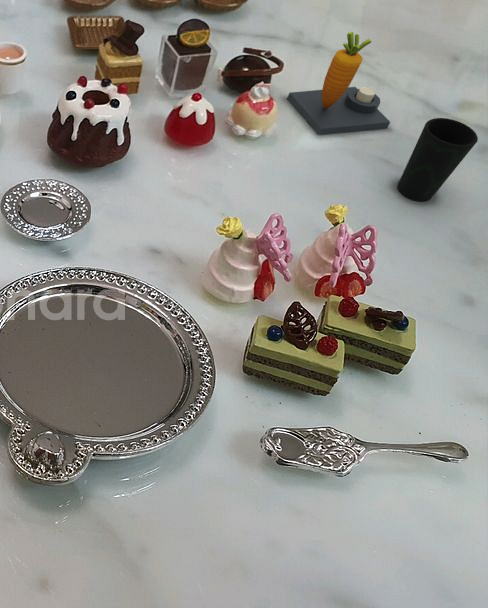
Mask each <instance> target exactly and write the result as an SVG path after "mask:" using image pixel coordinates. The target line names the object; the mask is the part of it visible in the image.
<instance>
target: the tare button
mask: <svg viewBox="0 0 488 608" xmlns="http://www.w3.org/2000/svg"><path fill="white" fill-rule="evenodd" d="M358 89H359V91H358V93H357V95H356V99H357V100H359V101H361V102H365V103H370V102H371V101H372V99H373V97H374V95H375V94H376V90H375V89H374V88H371V87H369V86H362V87H360V88H358Z"/></svg>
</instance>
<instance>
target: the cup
mask: <svg viewBox="0 0 488 608" xmlns="http://www.w3.org/2000/svg"><path fill="white" fill-rule="evenodd" d="M478 140H479V137H478V134H477V133H476V131H475V130H474V129H472V128H471V126H469V125H467V124H465V123H463V122H461V121H458V120H456V119H452V118H446V117H436V118H431V119H429V120H427V121H426V122H425V124H424V125H423V128H422V131H421V133H420V135H419V137H418V140H417V141H416V144H415V146H414V148H413V150H412V153H411V155H410V157H409V158H408V161H407V163H406V166H405V168H404V170H403V172H402V174H401V177H400V178H399V181H398V182H397V185H396V187H397V191H398V192H399V193H400V194H401V195H402V196H403V197H405V198H406V199H408V200H411V201H414V202H419V203H425V202H429V201H431V200H432V199H433V197H434V196H435V195H436V193H437V192H438V191H439V190H440V189H441V187H443V185H444V183H445V182H446V181H447V180H448V179H449V178H450V177H451V175H452V174H453V173H454V171H455V170H456V169H457V168H458V167H459V165H460V164H461V163H462V161H463V160H464V159H465V157H466V156H467V155H468V154H469V153H470V152H471V150H472V149H473V148H474V147H475V146H476V144H477V142H478Z"/></svg>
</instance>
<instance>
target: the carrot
mask: <svg viewBox="0 0 488 608" xmlns="http://www.w3.org/2000/svg"><path fill="white" fill-rule="evenodd" d="M346 39H347V42H344V43H342V45H343V47H344V49H339V50H336V52H335V54H334V55H333V57H332V59H331V62H330V64H329V67H328V69H327V71H326V74H325V77H324V80H323V85H322V89H321V90H322V105H323V107H324V109H327V108H329V107H331V106H332V105H333V104H335V103H336V102H337V101H338V100H339V99H340V98H341V96H342V95H343V94H344V92H345V91H346V89H347V88H348V87H350V85H351V83H352V81H353V80H354V78H355V76H356V74H357V73H358V71H359V68H360V66H361V65H362V63H363V56H362V55H361V54H360V53H359V52H361V50H362V49H364V48H365V47H367V46H368V45H369V44H371V43H372V40H371V39H370V38H367V39H365V40H364V41H362V43H360V34H359V33H355V34H354V31H349V32H347V34H346Z"/></svg>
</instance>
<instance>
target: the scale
mask: <svg viewBox="0 0 488 608" xmlns="http://www.w3.org/2000/svg"><path fill="white" fill-rule="evenodd" d="M359 89H360V88H357V87H356V86H349V87H348V88H347V89H346V91H345V92H344V94H343V95H342V96H341V98H340V99H339V100H338V101H337V102H336V103H335V104H333V105H332V106H331V107H329V108H327V109H324V107H323V105H322V89H315V90H313V89H312V90H303V91H292V92H291V91H290V92H289V93H288V95H287V97H286V99H287V101H288V103H290V105H292V106H293V108H294V109H295V110H296V111H297V112H298V114H300V116H301V117H302V118H303V119H304V120H305V122H306V123H307V124H309V126H310V127H311V128H312V129H313V130H314V132H315V133H316V134H317V135H318V136H322V135H323V136H324V135H334V134H341V133H352V132H353V133H354V132H364V131H372V130H381V129H388V127H389V126H390V123H391V121H390V120H389V119H388V118H387V117H386V116H385V115H384V114H383V113H382V112H381V111H380V109H378V108H379V107H380V104H381V98H380V97H379V96H378V95H377V94H376V93H375V95H374V97H373V99H372V101H371V102H370V103H365V102H361V101H359V100H357V99H356V95H357V93H358V91H359Z"/></svg>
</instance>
